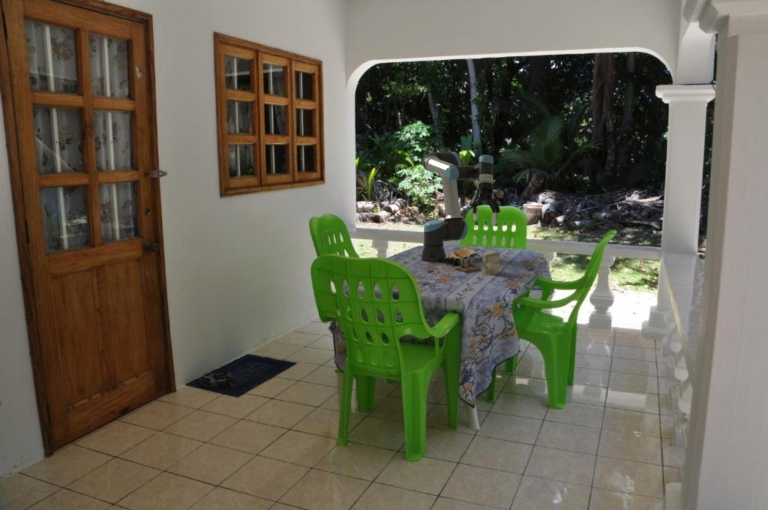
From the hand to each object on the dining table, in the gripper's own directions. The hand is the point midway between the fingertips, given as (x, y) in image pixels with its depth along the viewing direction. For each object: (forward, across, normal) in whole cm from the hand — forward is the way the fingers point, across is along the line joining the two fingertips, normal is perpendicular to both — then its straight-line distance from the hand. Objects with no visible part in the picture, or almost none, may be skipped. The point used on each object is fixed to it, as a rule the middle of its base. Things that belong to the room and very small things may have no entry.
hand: (484, 222), depth 328 cm
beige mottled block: (+23, +16, +11) cm, 30 cm away
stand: (+21, +10, +23) cm, 33 cm away
